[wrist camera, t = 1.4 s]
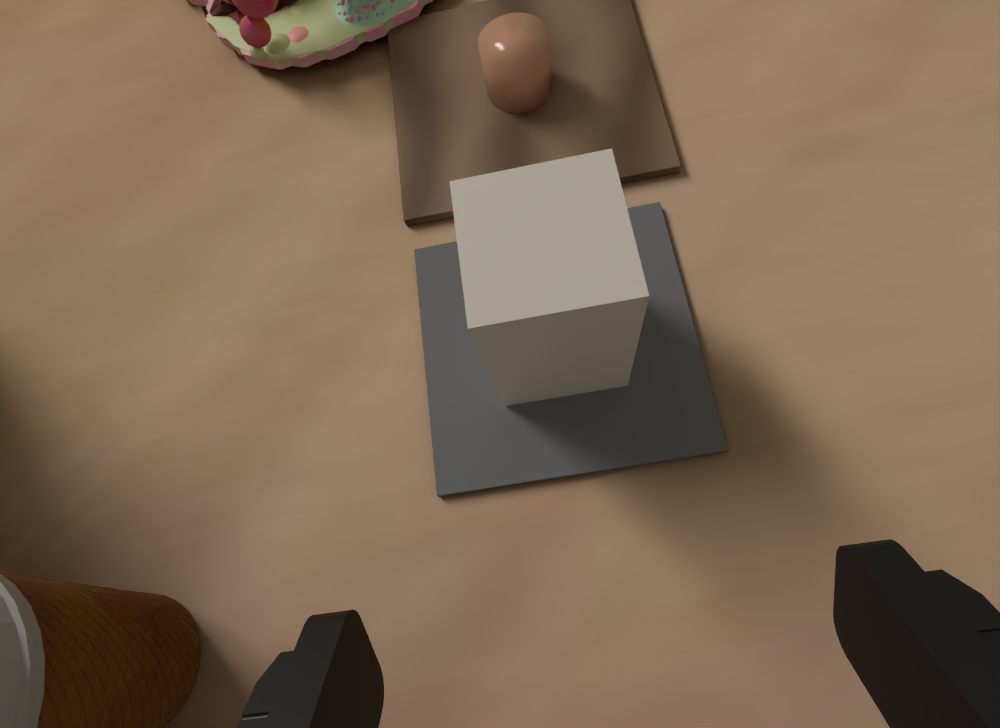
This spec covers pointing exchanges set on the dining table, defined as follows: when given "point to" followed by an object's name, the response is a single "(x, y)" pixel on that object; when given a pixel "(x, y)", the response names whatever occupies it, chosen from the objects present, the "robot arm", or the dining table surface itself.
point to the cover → (550, 276)
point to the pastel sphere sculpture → (303, 27)
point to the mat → (575, 418)
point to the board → (536, 133)
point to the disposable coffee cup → (92, 656)
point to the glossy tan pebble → (516, 62)
